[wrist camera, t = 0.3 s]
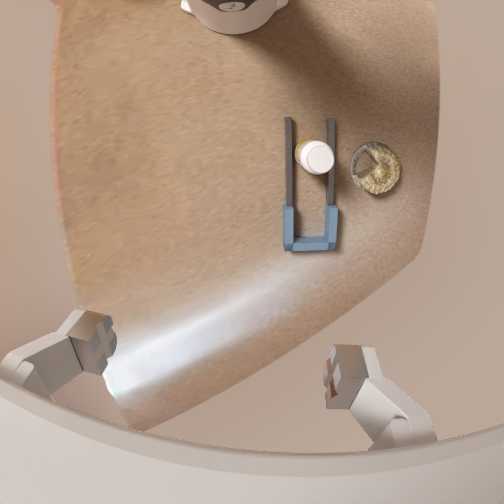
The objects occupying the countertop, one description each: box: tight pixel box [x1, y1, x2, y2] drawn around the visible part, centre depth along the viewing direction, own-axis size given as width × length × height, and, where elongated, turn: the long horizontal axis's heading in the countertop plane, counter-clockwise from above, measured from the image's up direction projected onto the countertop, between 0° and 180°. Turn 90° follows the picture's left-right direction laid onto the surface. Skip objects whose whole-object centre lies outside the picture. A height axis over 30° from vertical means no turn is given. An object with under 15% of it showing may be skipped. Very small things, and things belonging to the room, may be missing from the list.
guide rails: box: [284, 117, 335, 206], centre depth 51 cm, size 16×8×2 cm, turn 2°
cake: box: [350, 142, 401, 194], centre depth 50 cm, size 10×10×5 cm
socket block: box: [283, 204, 338, 251], centre depth 55 cm, size 8×10×3 cm
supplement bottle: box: [295, 139, 334, 174], centre depth 47 cm, size 5×5×10 cm
